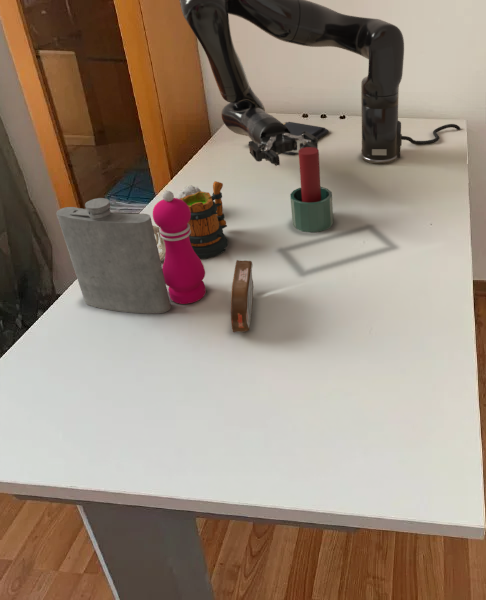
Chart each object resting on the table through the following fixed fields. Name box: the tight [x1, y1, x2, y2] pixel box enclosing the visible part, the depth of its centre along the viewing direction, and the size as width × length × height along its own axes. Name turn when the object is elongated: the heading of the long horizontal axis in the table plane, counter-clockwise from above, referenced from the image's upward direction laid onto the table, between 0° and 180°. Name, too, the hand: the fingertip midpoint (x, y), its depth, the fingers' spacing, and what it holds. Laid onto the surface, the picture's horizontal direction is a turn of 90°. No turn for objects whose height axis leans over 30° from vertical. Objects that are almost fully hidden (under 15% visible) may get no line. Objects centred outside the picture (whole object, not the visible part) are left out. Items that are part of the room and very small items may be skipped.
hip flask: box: [55, 197, 172, 314], centre depth 103 cm, size 16×4×20 cm, turn 79°
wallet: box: [248, 121, 330, 156], centre depth 175 cm, size 20×2×15 cm
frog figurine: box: [176, 185, 202, 199], centre depth 135 cm, size 6×7×7 cm
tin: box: [230, 259, 254, 333], centre depth 104 cm, size 15×3×8 cm, turn 5°
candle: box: [298, 147, 322, 203], centre depth 129 cm, size 4×4×16 cm
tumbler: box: [289, 186, 334, 233], centre depth 132 cm, size 9×9×7 cm
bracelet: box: [152, 224, 166, 262], centre depth 118 cm, size 4×8×8 cm, turn 151°
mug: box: [180, 180, 229, 260], centre depth 124 cm, size 13×10×12 cm
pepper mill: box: [152, 190, 207, 305], centre depth 106 cm, size 7×7×20 cm
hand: (296, 157), depth 131 cm, fingers open, 8 cm apart
